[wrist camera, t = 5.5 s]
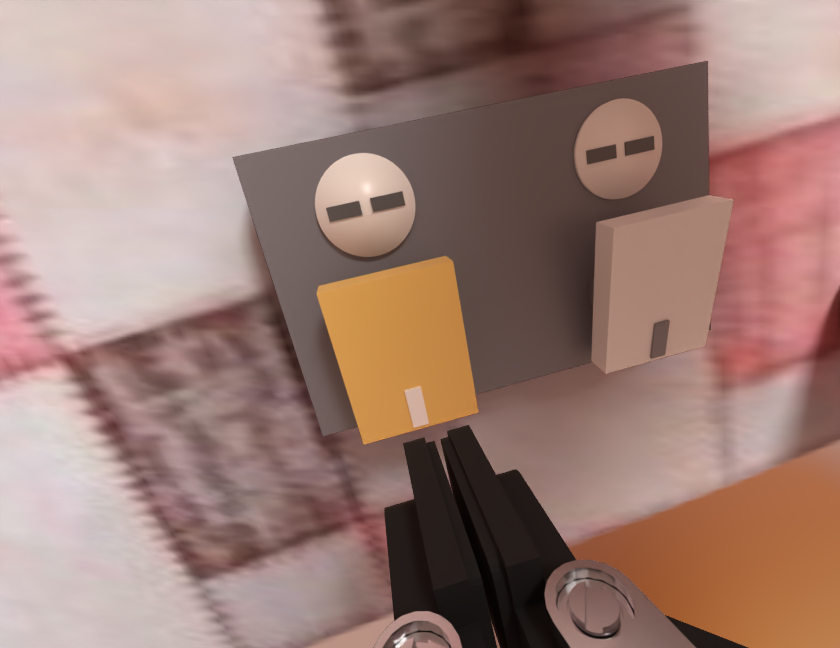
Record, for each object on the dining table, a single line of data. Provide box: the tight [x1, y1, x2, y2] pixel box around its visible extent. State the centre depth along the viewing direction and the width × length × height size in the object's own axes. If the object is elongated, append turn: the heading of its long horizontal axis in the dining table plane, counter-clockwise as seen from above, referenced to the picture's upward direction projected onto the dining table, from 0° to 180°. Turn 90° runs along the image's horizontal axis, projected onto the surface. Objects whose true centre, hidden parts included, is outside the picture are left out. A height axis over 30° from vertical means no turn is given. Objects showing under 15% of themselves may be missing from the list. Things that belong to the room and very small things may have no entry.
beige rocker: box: [588, 195, 734, 374], centre depth 15 cm, size 6×4×2 cm
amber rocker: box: [317, 256, 479, 445], centre depth 14 cm, size 6×4×2 cm
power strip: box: [232, 61, 711, 436], centre depth 17 cm, size 11×18×3 cm, turn 102°
